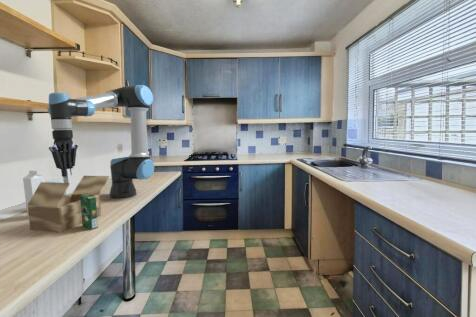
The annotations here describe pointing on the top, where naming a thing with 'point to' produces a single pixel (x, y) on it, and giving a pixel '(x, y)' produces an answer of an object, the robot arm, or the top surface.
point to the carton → (60, 214)
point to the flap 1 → (49, 194)
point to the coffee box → (89, 211)
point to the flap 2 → (91, 184)
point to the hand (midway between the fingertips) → (67, 183)
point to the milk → (31, 185)
